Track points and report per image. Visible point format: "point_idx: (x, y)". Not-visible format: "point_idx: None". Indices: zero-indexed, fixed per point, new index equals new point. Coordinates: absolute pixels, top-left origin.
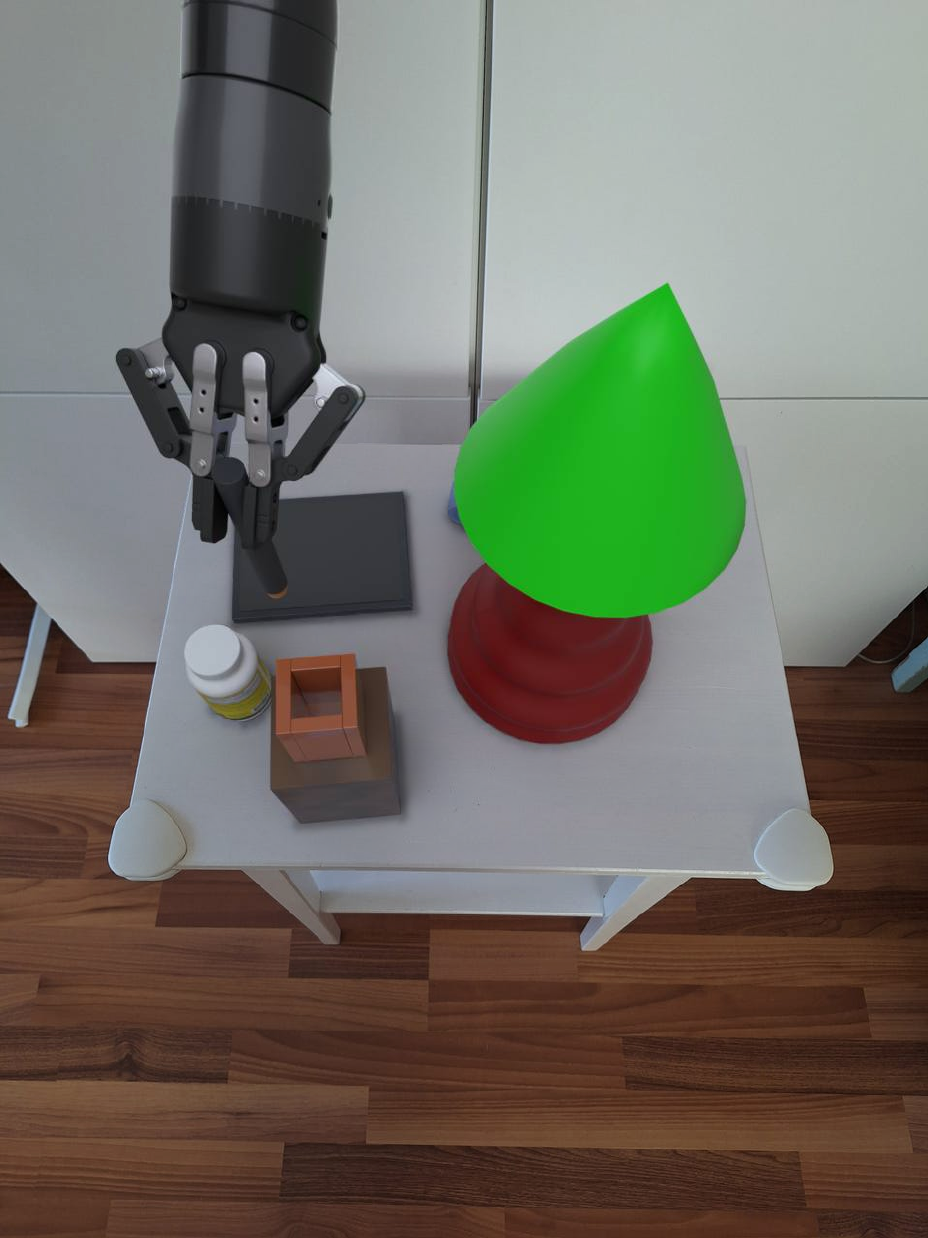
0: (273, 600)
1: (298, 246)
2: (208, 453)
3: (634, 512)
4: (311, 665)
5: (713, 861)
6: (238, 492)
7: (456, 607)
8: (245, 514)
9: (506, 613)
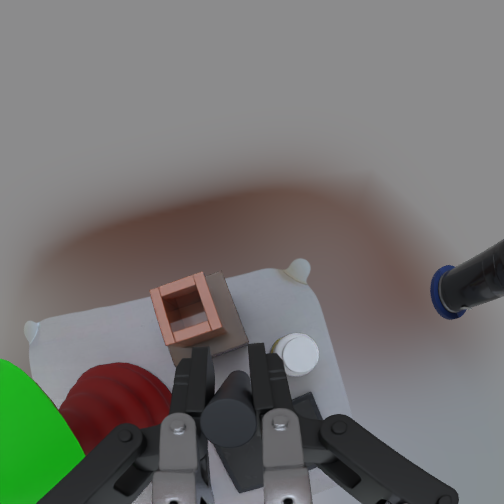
0: None
1: None
2: (268, 441)
3: None
4: (193, 328)
5: (50, 318)
6: (211, 400)
7: None
8: (201, 378)
9: (116, 415)
